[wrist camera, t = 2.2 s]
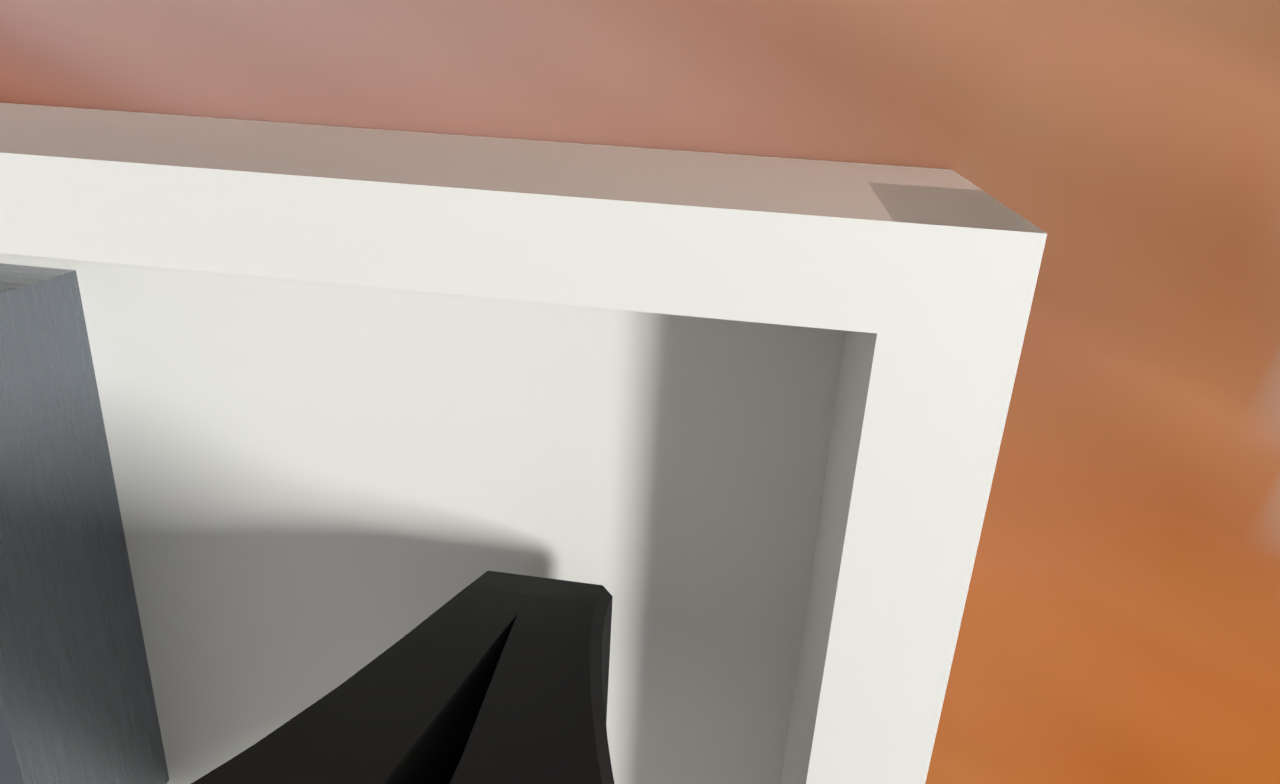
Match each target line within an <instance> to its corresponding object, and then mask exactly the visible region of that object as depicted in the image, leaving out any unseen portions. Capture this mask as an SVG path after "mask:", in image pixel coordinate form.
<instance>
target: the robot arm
mask: <svg viewBox="0 0 1280 784" xmlns="http://www.w3.org/2000/svg"><path fill="white" fill-rule="evenodd" d="M612 600H613V596H612V595H611V594H610V593H609V592H608V591H607V590H606V588H605V587H604V586H603V585H597V584H589V583H581V582H574V581H566V580H558V579H550V578H543V577H535V576H527V575H519V574H512V573H504V572H496V571H487V572H485V573H484V574H483V575H481V576H480V577H479V578H478V579H476V580H475V581H474V582H472V583H471V584H470V585H468V586H467V587H466V588H464V589H463V590H462V591H460V592H459V593H458V594H457V595H455V596H454V597H453V598H452V599H450V600H449V601H448V602H447V603H445V604H444V605H443V606H442V607H440V608H439V609H438V610H437V611H435V612H434V613H433V614H432V615H430V616H429V617H428V618H427V619H425V620H424V621H423V622H422V623H420V624H419V625H418V626H416V627H415V628H414V629H413V630H411V631H410V632H409V633H408V634H406V635H405V636H404V637H403V638H401V639H400V640H399V641H397V642H396V643H395V644H394V645H392V646H391V647H390V648H388V649H387V650H386V651H384V652H383V653H382V654H380V655H379V656H378V657H376V658H375V659H374V660H372V661H371V662H370V663H369V664H367V665H366V666H365V667H363V668H362V669H361V670H359V671H358V672H357V673H355V674H354V675H353V676H351V677H350V678H349V679H347V680H346V681H345V682H343V683H342V684H341V685H339V686H338V687H337V688H335V689H334V690H333V691H331V692H330V693H328V694H327V695H325V696H324V697H322V698H321V699H319V700H318V701H317V702H315V703H314V704H312V705H311V706H309V707H308V708H306V709H305V710H304V711H302V712H301V713H299V714H298V715H296V716H295V717H293V718H292V719H290V720H289V721H288V722H286V723H285V724H283V725H282V726H280V727H279V728H277V729H276V730H274V731H273V732H272V733H270V734H269V735H267V736H266V737H264V738H263V739H261V740H260V741H259V742H257V743H256V744H254V745H252V746H251V747H249V748H248V749H246V750H245V751H243V752H241V753H240V754H238V755H237V756H235V757H234V758H232V759H230V760H229V761H227V762H226V763H224V764H222V765H221V766H219V767H217V768H216V769H214V770H212V771H211V772H209V773H208V774H206V775H204V776H203V777H201V778H199V779H198V780H196V781H194V782H193V783H191V784H614V778H613V773H612V766H611V759H610V753H609V746H608V738H607V728H606V719H607V699H608V679H609V659H610V639H611V619H612Z"/></svg>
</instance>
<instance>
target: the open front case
mask: <svg viewBox="0 0 1280 784" xmlns="http://www.w3.org/2000/svg"><path fill="white" fill-rule="evenodd" d="M1046 237H1047V233H1046V232H1044V231H1043V230H1041V229H1040V228H1038V227H1037V226H1035V225H1034V224H1032V223H1031V222H1029V221H1028V220H1026V219H1025V218H1023V217H1022V216H1020V215H1019V214H1017V213H1016V212H1014V211H1013V210H1011V209H1010V208H1008V207H1007V206H1005V205H1004V204H1002V203H1001V202H999V201H998V200H996V199H995V198H993V197H992V196H990V195H989V194H987V193H986V192H984V191H983V190H981V189H980V188H978V187H977V186H975V185H974V184H972V183H971V182H970V181H968V180H967V179H965V178H964V177H962V176H961V175H959V174H958V173H956V172H955V171H953V170H950V169H936V168H922V167H908V166H894V165H879V164H865V163H851V162H837V161H823V160H808V159H794V158H780V157H766V156H751V155H737V154H723V153H709V152H695V151H680V150H666V149H652V148H638V147H624V146H609V145H595V144H581V143H567V142H553V141H538V140H524V139H510V138H496V137H482V136H467V135H453V134H439V133H425V132H411V131H396V130H382V129H368V128H354V127H340V126H325V125H311V124H297V123H283V122H269V121H254V120H240V119H226V118H212V117H198V116H183V115H169V114H155V113H141V112H127V111H112V110H98V109H84V108H70V107H55V106H41V105H27V104H13V103H0V263H3V264H14V265H24V266H35V267H46V268H57V269H67V270H76V273H77V279H78V284H79V290H80V295H81V301H82V306H83V312H84V317H85V323H86V328H87V333H88V339H89V344H90V350H91V355H92V361H93V366H94V372H95V377H96V382H97V388H98V393H99V399H100V404H101V410H102V415H103V421H104V426H105V432H106V437H107V442H108V448H109V453H110V459H111V464H112V470H113V475H114V481H115V486H116V492H117V497H118V502H119V508H120V513H121V519H122V524H123V530H124V535H125V541H126V546H127V551H128V557H129V562H130V568H131V573H132V579H133V584H134V590H135V595H136V601H137V606H138V611H139V617H140V622H141V628H142V633H143V639H144V644H145V650H146V655H147V660H148V666H149V671H150V677H151V682H152V688H153V693H154V699H155V704H156V710H157V715H158V720H159V726H160V731H161V737H162V742H163V748H164V753H165V759H166V764H167V770H168V775H169V781H168V782H167V784H191V783H193V782H194V781H196V780H198V779H199V778H201V777H203V776H204V775H206V774H208V773H209V772H211V771H212V770H214V769H216V768H217V767H219V766H221V765H222V764H224V763H226V762H227V761H229V760H230V759H232V758H234V757H235V756H237V755H238V754H240V753H241V752H243V751H245V750H246V749H248V748H249V747H251V746H252V745H254V744H256V743H257V742H259V741H260V740H261V739H263V738H264V737H266V736H267V735H269V734H270V733H272V732H273V731H274V730H276V729H277V728H279V727H280V726H282V725H283V724H285V723H286V722H288V721H289V720H290V719H292V718H293V717H295V716H296V715H298V714H299V713H301V712H302V711H304V710H305V709H306V708H308V707H309V706H311V705H312V704H314V703H315V702H317V701H318V700H319V699H321V698H322V697H324V696H325V695H327V694H328V693H330V692H331V691H333V690H334V689H335V688H337V687H338V686H339V685H341V684H342V683H343V682H345V681H346V680H347V679H349V678H350V677H351V676H353V675H354V674H355V673H357V672H358V671H359V670H361V669H362V668H363V667H365V666H366V665H367V664H369V663H370V662H371V661H372V660H374V659H375V658H376V657H378V656H379V655H380V654H382V653H383V652H384V651H386V650H387V649H388V648H390V647H391V646H392V645H394V644H395V643H396V642H397V641H399V640H400V639H401V638H403V637H404V636H405V635H406V634H408V633H409V632H410V631H411V630H413V629H414V628H415V627H416V626H418V625H419V624H420V623H422V622H423V621H424V620H425V619H427V618H428V617H429V616H430V615H432V614H433V613H434V612H435V611H437V610H438V609H439V608H440V607H442V606H443V605H444V604H445V603H447V602H448V601H449V600H450V599H452V598H453V597H454V596H455V595H457V594H458V593H459V592H460V591H462V590H463V589H464V588H466V587H467V586H468V585H470V584H471V583H472V582H474V581H475V580H476V579H478V578H479V577H480V576H481V575H483V574H484V573H485V572H487V571H496V572H504V573H512V574H519V575H527V576H535V577H543V578H550V579H558V580H566V581H574V582H581V583H589V584H597V585H603V586H604V587H605V588H606V590H607V591H608V592H609V593H610V594H611V595H612V596H613V600H612V619H611V639H610V659H609V679H608V699H607V719H606V728H607V738H608V746H609V753H610V759H611V766H612V773H613V778H614V784H925V782H926V777H927V773H928V768H929V764H930V759H931V755H932V750H933V746H934V741H935V737H936V732H937V728H938V723H939V719H940V714H941V710H942V705H943V701H944V696H945V692H946V687H947V683H948V678H949V674H950V669H951V665H952V660H953V656H954V651H955V647H956V642H957V638H958V633H959V629H960V624H961V620H962V615H963V611H964V606H965V602H966V597H967V593H968V588H969V584H970V579H971V575H972V570H973V566H974V561H975V557H976V552H977V548H978V543H979V538H980V534H981V529H982V525H983V520H984V516H985V511H986V507H987V502H988V498H989V493H990V489H991V484H992V480H993V475H994V471H995V466H996V462H997V457H998V453H999V448H1000V444H1001V439H1002V435H1003V430H1004V426H1005V421H1006V417H1007V412H1008V408H1009V403H1010V399H1011V394H1012V390H1013V385H1014V381H1015V376H1016V372H1017V367H1018V363H1019V358H1020V354H1021V349H1022V345H1023V340H1024V336H1025V331H1026V327H1027V322H1028V318H1029V313H1030V309H1031V304H1032V300H1033V295H1034V291H1035V286H1036V282H1037V277H1038V273H1039V268H1040V264H1041V259H1042V255H1043V250H1044V246H1045V241H1046Z"/></svg>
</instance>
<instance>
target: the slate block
mask: <svg viewBox="0 0 1280 784" xmlns="http://www.w3.org/2000/svg"><path fill="white" fill-rule="evenodd" d="M168 781H169V775H168V770H167V764H166V759H165V753H164V748H163V742H162V737H161V731H160V726H159V720H158V715H157V710H156V704H155V699H154V693H153V688H152V682H151V677H150V671H149V666H148V660H147V655H146V650H145V644H144V639H143V633H142V628H141V622H140V617H139V611H138V606H137V601H136V595H135V590H134V584H133V579H132V573H131V568H130V562H129V557H128V551H127V546H126V541H125V535H124V530H123V524H122V519H121V513H120V508H119V502H118V497H117V492H116V486H115V481H114V475H113V470H112V464H111V459H110V453H109V448H108V442H107V437H106V432H105V426H104V421H103V415H102V410H101V404H100V399H99V393H98V388H97V382H96V377H95V372H94V366H93V361H92V355H91V350H90V344H89V339H88V333H87V328H86V323H85V317H84V312H83V306H82V301H81V295H80V290H79V284H78V279H77V273H76V270H67V269H57V268H46V267H35V266H24V265H14V264H3V263H0V784H167V782H168Z"/></svg>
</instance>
